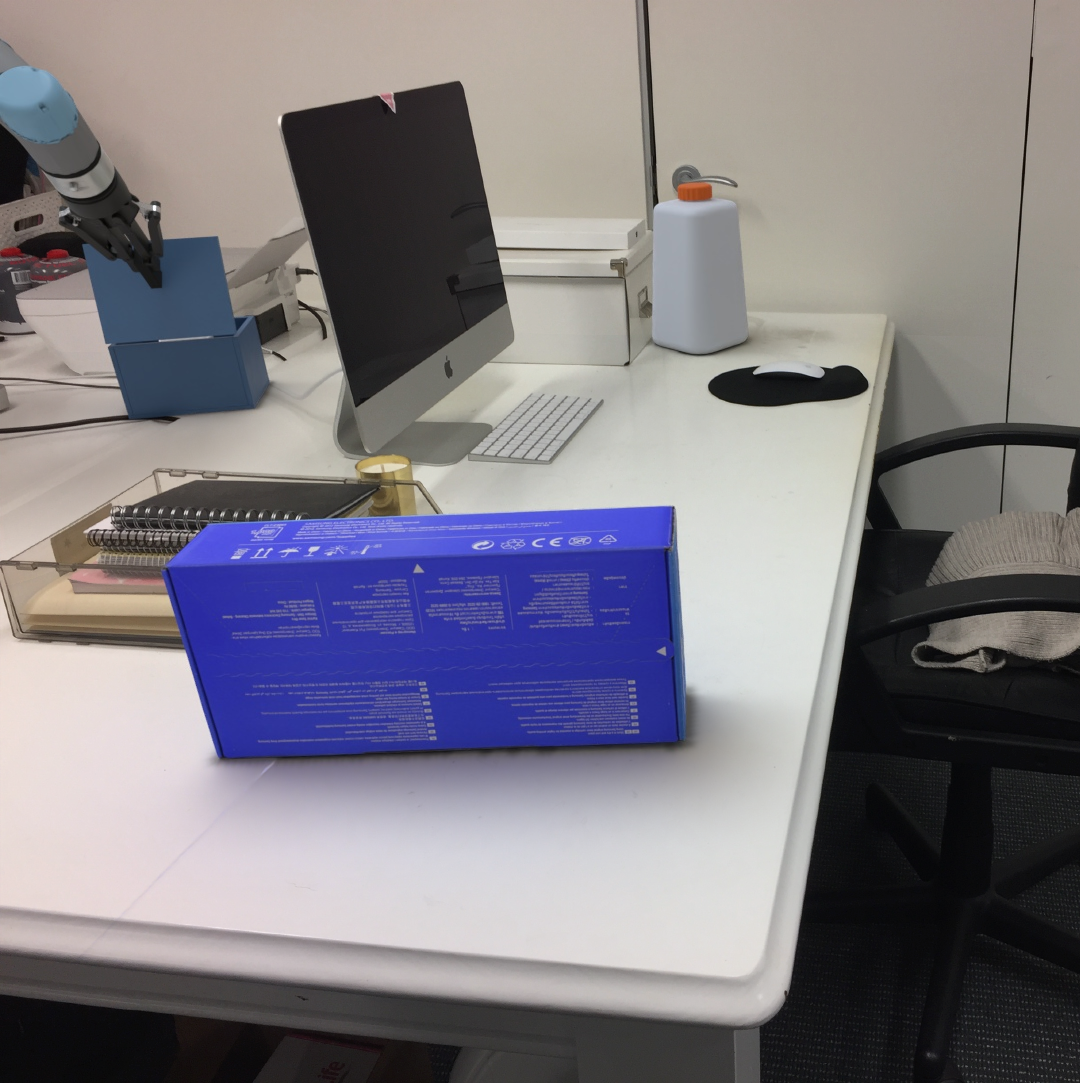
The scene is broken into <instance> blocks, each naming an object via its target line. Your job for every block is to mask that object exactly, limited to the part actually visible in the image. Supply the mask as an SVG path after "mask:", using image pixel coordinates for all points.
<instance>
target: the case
mask: <svg viewBox="0 0 1080 1083" xmlns="http://www.w3.org/2000/svg"><path fill="white" fill-rule="evenodd" d="M234 320H235V325H236V330H237V334H231V335H218V336H214V338H202V339H189V340H176V341H163V342H159V340H153V341H140V342H127V343H114V344H109V345H108V346H107V350H108V353H109V357H110V360H111V363H112V366H113V370H114V373H115V376H116V379H117V384H118V386H119V390H120V393H121V396H122V400H123V403H124V405H125V409H126V412H127V416H128V420H140V419H151V418H162V417H163V418H165V417H173V416H185V415H197V414H208V413H219V412H231V411H242V410H243V411H244V410H253V409H256V407H257V405H258V403H259V402H260V401H261V398H262V397H263V395H264V394H265V392H266V390H267V388H268V386H270V383H271V382H270V378H269V374H268V369H267V365H266V360H265V356H264V352H263V347H262V343H261V339H260V334H259V330H258V326H257V320H256V317H255V315H244V316H242V315H241V316H234Z"/></svg>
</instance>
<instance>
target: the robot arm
mask: <svg viewBox="0 0 1080 1083" xmlns="http://www.w3.org/2000/svg"><path fill="white" fill-rule="evenodd" d="M0 125H1V126H2V127H3V128H5V130H7V131H8V132H9V133H10V134H11V135H12V136H13V137H14V138H15V139H16V140H17V141H18V142H19V143H20V144H21V146H23V148H24V149H25V150H26V151H27V153H28V154H29V155H30V156H31V158H32V159H33V160H34V161H35V163H36V165H37V166H38V167H39V169H40V170H41V172H42V173H43V174H44V175H45V177H46V178H47V179H48V181H49V182H50V184H51V185H52V186H53V187H54V188H55V190H56V191H57V193H58V195H59V196H60V197H61V198H62V200H63V201H64V202H65V204H66V205H67V206H66V205H60V206H59V207H58V225H59V226H61V227H63V228H65V229H67V230H69V231H70V232H73V233H74V234H76V235H77V236H78V237H79V238H81V239H82V240H83V241H84V242H85V243H86V244H89V245H91V246H92V247H93V248H94V249H96V250H97V251H98V252H99V253H100V254H102V255H103V256H104V257H105V258H107V259H108V260H110V261H115V260H117V259H122V260H123V261H124V262H126V263H127V264H128V265H129V267H130V268H131V270H132V271H133V272H135V273H137V272H140V273H141V275H142V276H143V278H144V279H145V280H146V282H147V283H148V285H149V286H150V287H151V289H155V288H162V271H161V270H160V259H159V258H162V257H163V239H164V237H163V232H162V228H161V223H160V222H161V220H162V203H161V202H160V201H158V200H151V201H150V203H146V202H142V201H140V199H139V197H137V195H134V194H133V193H132V192H131V191H130V190H129V187H128V186H127V183H126V182H125V180H124V178H123V177H122V176H121V174H120V172H119V171H118V169H117V168H116V167H115V165H114V163H113V161H112V160H111V158H110V156H109V155H108V154H107V152H106V151H105V149H104V148H103V146H102V145H101V143H100V142H99V140H98V139H97V138H96V136H95V134H94V133H93V130H91V128H90V127H89V125H88V123H87V122H86V120H85V119H84V116H83V115H82V113H81V112H80V110H79V109H78V107H77V105H76V103H75V101H74V98H73V96H72V95H71V94H70V93H69V91H67V90H66V89H65V88H64V86H63V85H62V84H61V83H60V81H59V80H58V79H57V78H56V77H55V76H54V75H53V74H52V73H50V72H49V71H47V70H45V69H41V68H37V67H35V66H32V65H30V64H29V63H28V62H26V60H25V59H23V58H22V57H21V56H20V55H19V54H18V53H17V52H16V51H15V49H14V48H13V47H12V46H11V45H10V44H9V43H8V42H7V41H5V40H4V39H2V38H0ZM139 213H140V214H141V216H142V218H143V219H144V221H145V222H146V223H147V230H148V235H149V238H148V236H147V235H146V234H145V232H144V231H143V229H142V227H141V226H140V225H139V223H138V222H137V220H136V218H137V215H138V214H139ZM149 240H151V243H150V241H149ZM130 242H131V243H130ZM132 245H133V246H134V251H133V249H132Z"/></svg>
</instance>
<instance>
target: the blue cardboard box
mask: <svg viewBox="0 0 1080 1083" xmlns="http://www.w3.org/2000/svg"><path fill="white" fill-rule="evenodd" d="M678 547H679V546H678V518H677V509H676V507H675V505H671V504H666V505H665V504H664V505H637V506H615V507H614V506H611V507H610V506H609V507H588V508H587V507H586V508H561V509H558V508H557V509H537V510H536V509H535V510H511V511H509V510H508V511H485V512H460V513H438V514H436V513H435V514H413V515H411V514H410V515H389V516H365V517H364V516H363V517H362V516H361V517H342V518H341V517H338V518H315V519H314V518H312V519H292V520H289V519H288V520H264V521H262V520H261V521H240V522H239V521H238V522H217V523H215V522H214V523H207V524H206V525H205V527H204V528H203V529H202V530H200V532H199V533H197V534H196V535H195V536H194V537H193V538H192V539H191V540H190V541H189V542H188V543H187V544H186V545H184V547H182V549H180V550H179V551H178V552H177V553H176V554H175V555H174V556H173V557H172V558H170V560H168V561H167V562H165V564H163V565H162V566H161V567H160V570H161V571H160V572H161V575H162V579H163V582H164V585H165V588H166V592H167V595H168V598H169V602H170V605H171V608H172V611H173V615H174V618H175V620H176V621H175V622H176V625H177V627H178V631H179V634H180V639H181V641H182V644H183V647H184V651H185V654H186V657H187V660H188V664H189V667H190V670H191V674H192V678H193V680H194V684H195V685H194V686H195V688H196V692H197V694H198V698H199V701H200V705H201V708H202V711H203V714H204V715H203V716H204V718H205V722H206V725H207V727H208V731H209V733H210V734H209V735H210V738H211V740H212V744H213V746H214V750H215V753H216V756H217V758H219V759H222V760H230V759H247V758H276V757H277V758H280V757H281V758H282V757H283V758H285V757H310V756H311V757H313V756H314V757H315V756H335V755H336V756H337V755H361V754H362V755H363V754H391V753H392V754H393V753H395V754H396V753H422V752H444V751H447V752H448V751H463V750H466V751H467V750H488V749H491V750H492V749H494V750H495V749H508V748H509V749H510V748H526V747H527V748H529V747H563V746H565V747H567V746H593V745H594V746H595V745H623V744H625V745H626V744H650V743H651V744H654V743H656V744H657V743H679V742H685V741H686V728H687V727H686V726H687V679H686V659H685V658H686V657H685V637H684V625H683V611H682V594H681V580H680V579H681V578H680V559H679V549H678Z"/></svg>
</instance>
